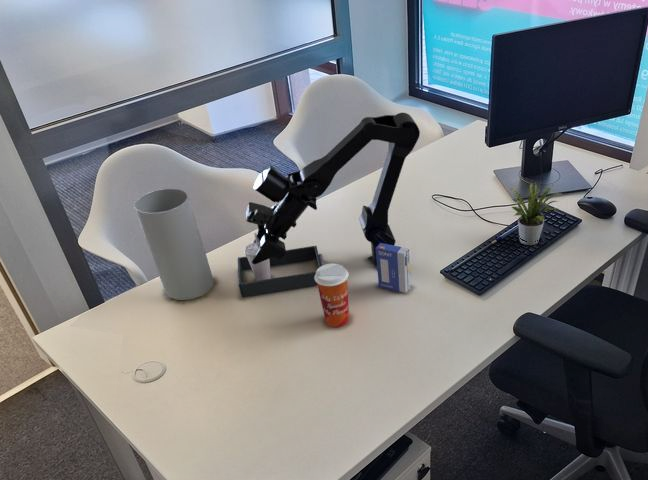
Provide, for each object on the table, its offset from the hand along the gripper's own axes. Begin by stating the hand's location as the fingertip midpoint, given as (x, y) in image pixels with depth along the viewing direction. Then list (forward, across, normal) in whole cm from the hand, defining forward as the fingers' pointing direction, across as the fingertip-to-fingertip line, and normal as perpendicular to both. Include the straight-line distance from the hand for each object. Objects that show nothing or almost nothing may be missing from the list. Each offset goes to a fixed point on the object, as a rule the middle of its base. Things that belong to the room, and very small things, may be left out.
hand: (252, 256), depth 157 cm
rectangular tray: (+1, 0, +10) cm, 10 cm away
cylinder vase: (+18, -2, -7) cm, 19 cm away
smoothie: (+4, 0, +6) cm, 8 cm away
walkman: (-18, +13, +30) cm, 37 cm away
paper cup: (-7, +22, +18) cm, 30 cm away
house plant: (-48, +3, +59) cm, 76 cm away
